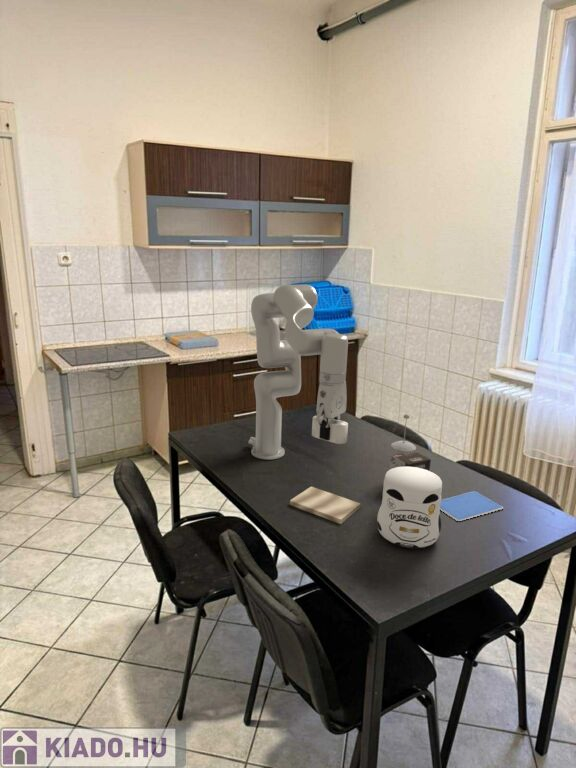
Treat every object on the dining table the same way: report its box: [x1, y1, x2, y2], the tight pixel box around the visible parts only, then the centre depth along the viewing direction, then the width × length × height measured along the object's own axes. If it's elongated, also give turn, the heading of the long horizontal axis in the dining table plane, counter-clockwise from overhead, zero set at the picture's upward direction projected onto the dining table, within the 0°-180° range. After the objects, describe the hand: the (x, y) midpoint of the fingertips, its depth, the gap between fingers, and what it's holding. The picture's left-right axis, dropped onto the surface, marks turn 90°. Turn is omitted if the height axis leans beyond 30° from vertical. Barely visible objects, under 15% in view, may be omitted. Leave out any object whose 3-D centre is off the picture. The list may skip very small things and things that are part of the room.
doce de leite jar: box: [376, 466, 443, 550], centre depth 148 cm, size 17×17×18 cm
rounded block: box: [311, 415, 349, 445], centre depth 158 cm, size 11×4×6 cm, turn 55°
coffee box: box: [394, 452, 432, 471], centre depth 166 cm, size 9×6×16 cm
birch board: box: [289, 486, 361, 525], centre depth 165 cm, size 18×12×2 cm, turn 55°
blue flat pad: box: [440, 490, 504, 522], centre depth 168 cm, size 19×13×1 cm, turn 117°
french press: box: [388, 413, 417, 471], centre depth 179 cm, size 10×12×25 cm
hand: (329, 435), depth 159 cm, fingers closed on rounded block, 4 cm apart
